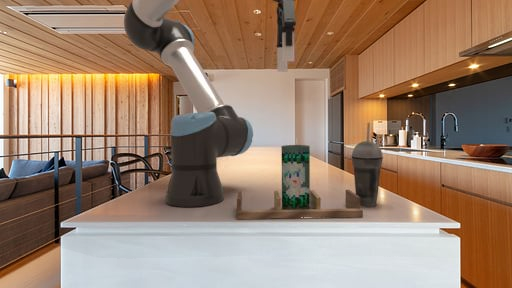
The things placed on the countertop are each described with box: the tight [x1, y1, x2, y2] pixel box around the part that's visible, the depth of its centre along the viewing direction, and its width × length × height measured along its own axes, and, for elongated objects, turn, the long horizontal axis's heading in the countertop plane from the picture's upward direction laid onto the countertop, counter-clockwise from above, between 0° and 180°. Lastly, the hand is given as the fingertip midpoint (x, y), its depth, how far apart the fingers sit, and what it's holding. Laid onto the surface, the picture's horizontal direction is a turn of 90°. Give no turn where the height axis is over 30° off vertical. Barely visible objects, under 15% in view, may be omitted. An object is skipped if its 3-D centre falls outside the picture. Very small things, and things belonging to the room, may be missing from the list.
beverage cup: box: [351, 122, 384, 208], centre depth 74 cm, size 7×7×20 cm
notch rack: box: [236, 189, 364, 220], centre depth 68 cm, size 27×9×4 cm, turn 91°
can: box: [281, 144, 311, 210], centre depth 69 cm, size 6×6×15 cm
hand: (285, 66), depth 78 cm, fingers open, 13 cm apart
